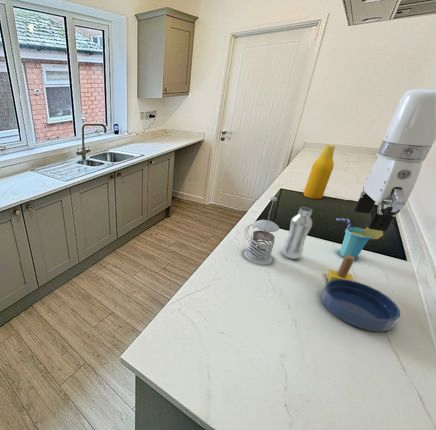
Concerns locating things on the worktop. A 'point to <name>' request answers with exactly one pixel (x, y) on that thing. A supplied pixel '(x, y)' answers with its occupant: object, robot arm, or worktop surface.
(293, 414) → the worktop surface
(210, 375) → the worktop surface
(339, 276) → the rubber stamp
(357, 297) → the bowl
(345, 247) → the cup
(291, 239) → the silver metal bottle
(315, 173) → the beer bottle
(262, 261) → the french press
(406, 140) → the robot arm
